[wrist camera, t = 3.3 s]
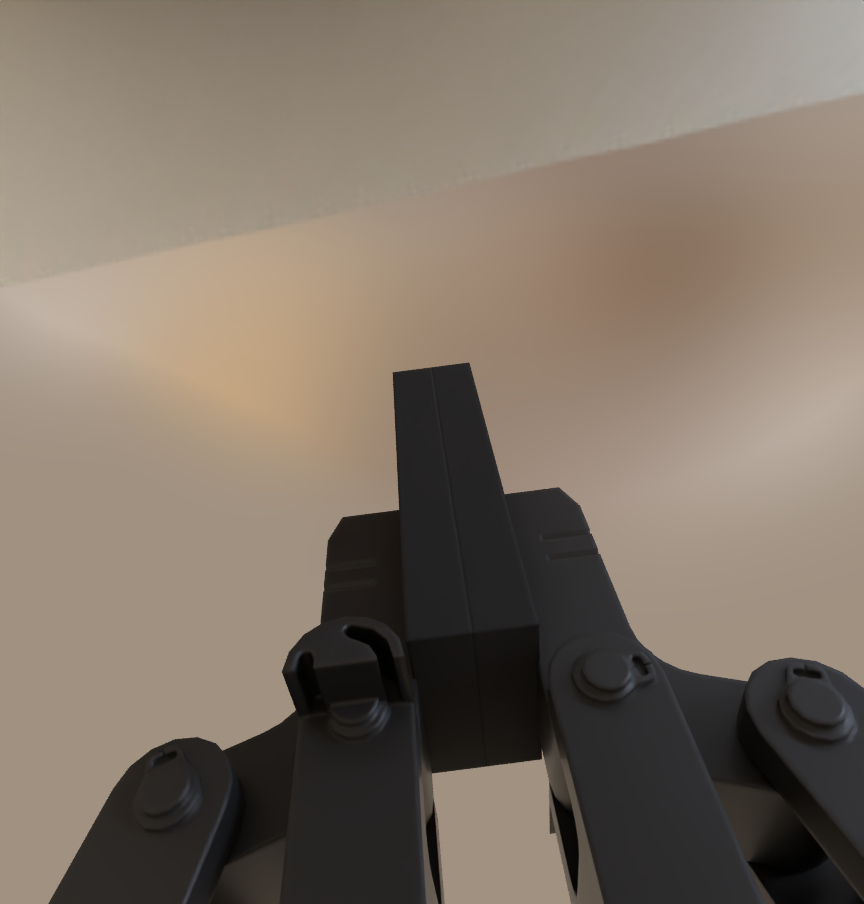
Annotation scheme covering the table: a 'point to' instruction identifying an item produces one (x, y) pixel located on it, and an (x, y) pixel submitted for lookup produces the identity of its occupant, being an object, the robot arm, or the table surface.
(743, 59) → the table surface
